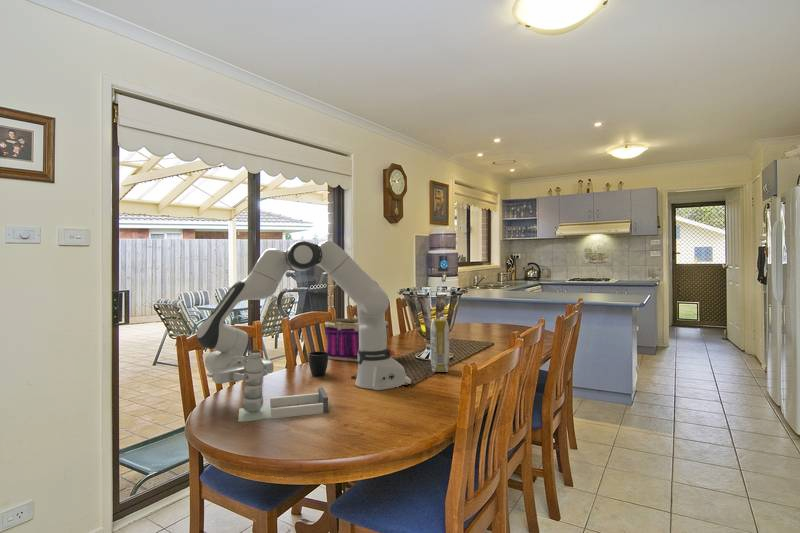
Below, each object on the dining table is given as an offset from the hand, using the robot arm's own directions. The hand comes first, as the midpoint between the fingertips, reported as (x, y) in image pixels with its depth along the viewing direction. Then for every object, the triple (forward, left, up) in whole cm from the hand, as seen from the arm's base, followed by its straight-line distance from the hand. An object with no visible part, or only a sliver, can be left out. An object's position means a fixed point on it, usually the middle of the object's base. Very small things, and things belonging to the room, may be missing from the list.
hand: (255, 375), depth 148 cm
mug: (-27, -44, -13) cm, 53 cm away
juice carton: (-78, -32, -13) cm, 85 cm away
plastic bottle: (+1, -3, -12) cm, 13 cm away
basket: (-48, -70, -13) cm, 86 cm away
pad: (0, -1, -13) cm, 13 cm away
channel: (-13, -1, -13) cm, 18 cm away
